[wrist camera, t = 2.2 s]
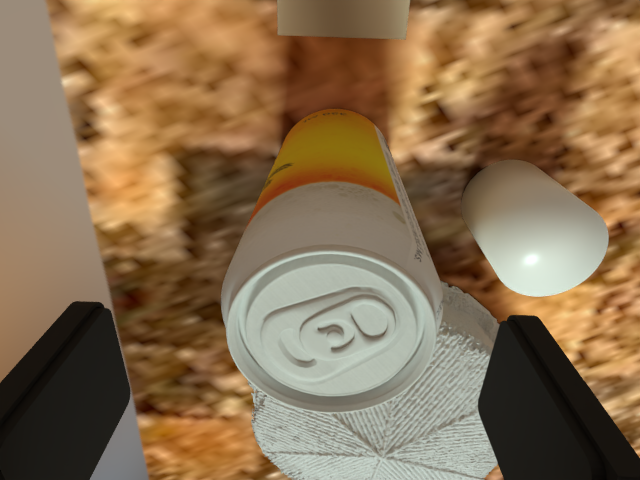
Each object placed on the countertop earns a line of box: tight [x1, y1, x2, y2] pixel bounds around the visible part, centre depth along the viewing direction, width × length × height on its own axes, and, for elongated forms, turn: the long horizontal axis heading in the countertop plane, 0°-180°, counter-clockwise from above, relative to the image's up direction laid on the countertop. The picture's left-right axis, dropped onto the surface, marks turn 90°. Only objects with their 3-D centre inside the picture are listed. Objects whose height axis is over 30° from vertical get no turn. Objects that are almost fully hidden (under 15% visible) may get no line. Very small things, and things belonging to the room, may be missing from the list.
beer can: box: [221, 109, 444, 413], centre depth 17 cm, size 6×6×15 cm
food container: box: [248, 281, 500, 480], centre depth 29 cm, size 20×20×7 cm
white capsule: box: [461, 160, 608, 296], centre depth 22 cm, size 5×5×6 cm
